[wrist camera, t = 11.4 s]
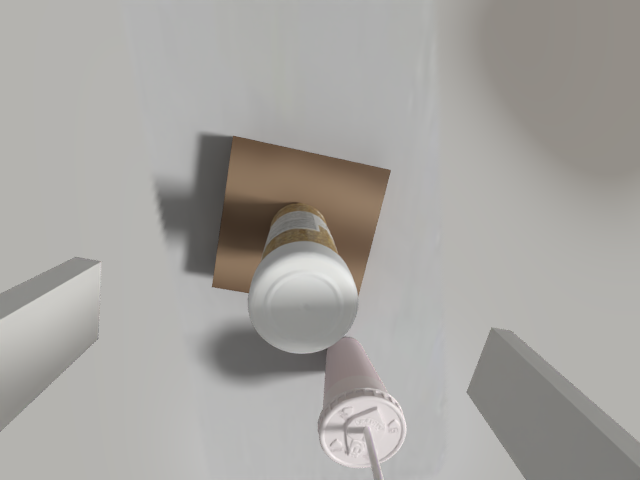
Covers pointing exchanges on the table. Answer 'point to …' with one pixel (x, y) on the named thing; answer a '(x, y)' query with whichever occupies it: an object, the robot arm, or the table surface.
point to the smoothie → (358, 411)
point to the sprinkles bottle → (301, 285)
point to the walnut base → (290, 188)
